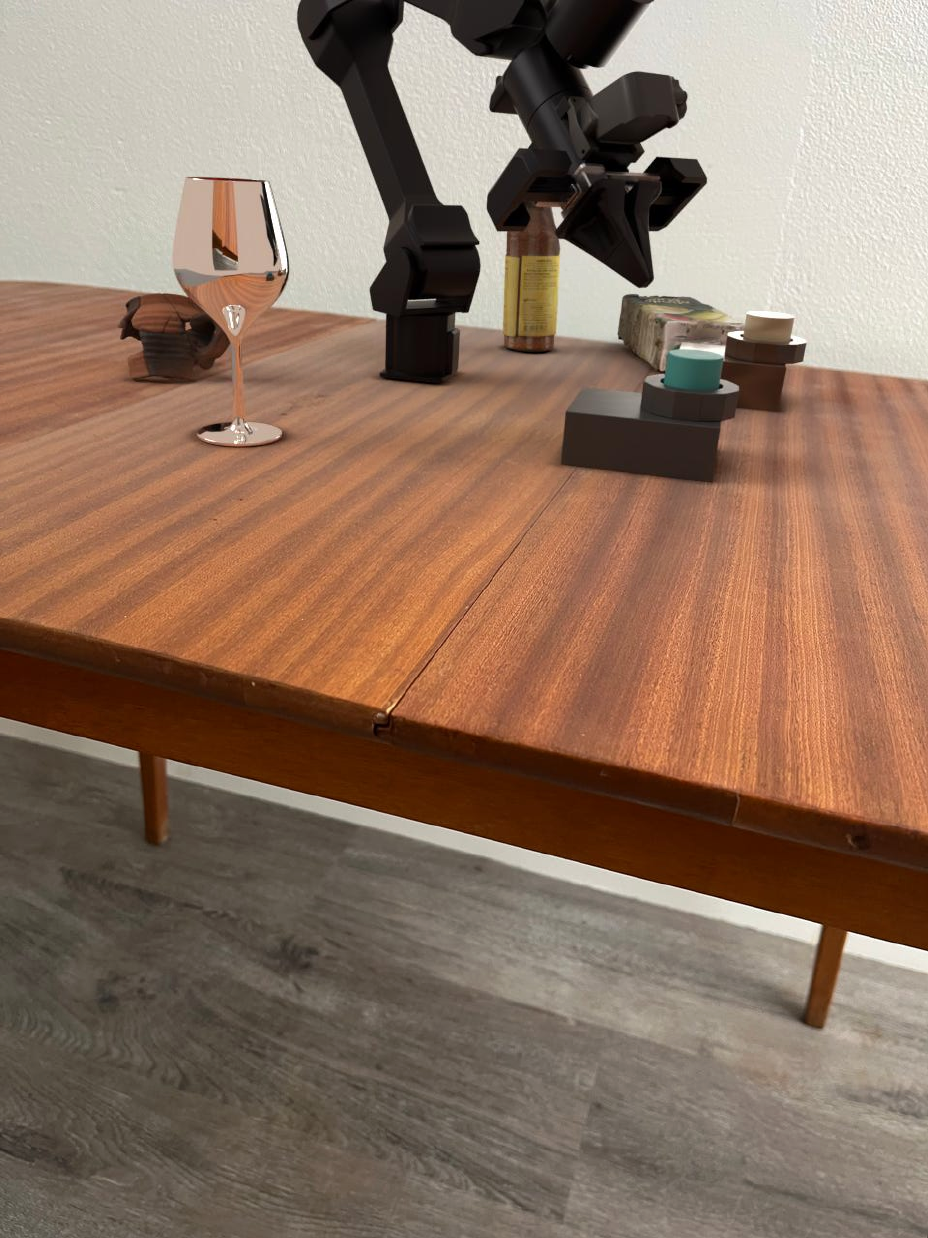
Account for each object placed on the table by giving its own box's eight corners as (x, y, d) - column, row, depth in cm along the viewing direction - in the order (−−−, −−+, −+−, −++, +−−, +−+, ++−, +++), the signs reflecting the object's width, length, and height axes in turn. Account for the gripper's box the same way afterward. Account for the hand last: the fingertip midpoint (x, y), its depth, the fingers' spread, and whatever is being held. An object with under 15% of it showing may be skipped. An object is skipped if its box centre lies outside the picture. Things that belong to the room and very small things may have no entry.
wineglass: (312, 430, 78) (308, 182, 71) (260, 455, 71) (250, 183, 64) (221, 417, 81) (208, 175, 73) (163, 440, 74) (141, 175, 66)
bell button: (742, 343, 93) (746, 315, 92) (742, 336, 97) (746, 309, 96) (790, 347, 92) (795, 319, 91) (788, 340, 96) (793, 313, 95)
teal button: (661, 391, 72) (666, 356, 71) (665, 381, 75) (669, 347, 74) (717, 397, 71) (723, 361, 70) (718, 386, 74) (724, 352, 73)
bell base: (670, 400, 95) (679, 336, 92) (675, 382, 103) (684, 323, 100) (796, 413, 93) (809, 348, 90) (791, 394, 100) (803, 333, 98)
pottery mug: (97, 383, 91) (94, 296, 92) (159, 410, 100) (156, 331, 101) (211, 362, 87) (207, 271, 88) (265, 391, 96) (261, 309, 97)
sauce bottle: (563, 349, 117) (580, 165, 109) (538, 355, 113) (554, 164, 104) (515, 341, 120) (528, 162, 112) (489, 347, 116) (500, 160, 107)
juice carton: (748, 376, 107) (757, 317, 105) (660, 375, 106) (667, 315, 103) (688, 345, 125) (695, 294, 123) (613, 343, 124) (618, 292, 121)
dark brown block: (560, 464, 73) (568, 383, 71) (577, 435, 81) (585, 361, 79) (725, 484, 71) (739, 400, 68) (726, 452, 79) (739, 376, 76)
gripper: (525, 12, 65) (625, 206, 62) (708, 42, 76) (800, 210, 73) (447, 140, 74) (531, 315, 71) (621, 151, 85) (700, 304, 82)
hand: (646, 284), depth 74 cm, fingers closed
